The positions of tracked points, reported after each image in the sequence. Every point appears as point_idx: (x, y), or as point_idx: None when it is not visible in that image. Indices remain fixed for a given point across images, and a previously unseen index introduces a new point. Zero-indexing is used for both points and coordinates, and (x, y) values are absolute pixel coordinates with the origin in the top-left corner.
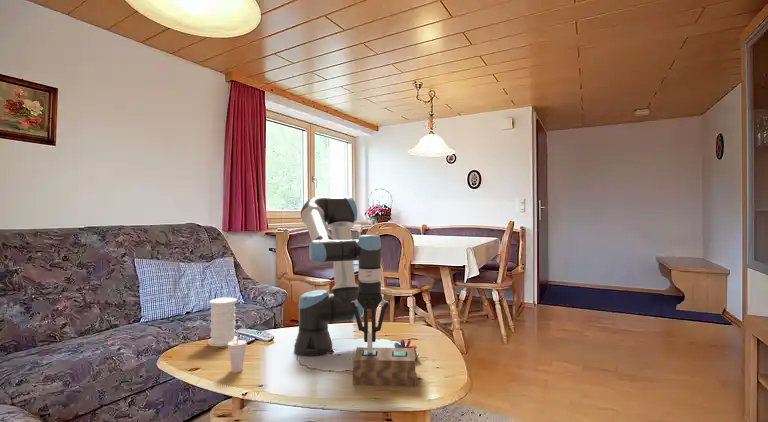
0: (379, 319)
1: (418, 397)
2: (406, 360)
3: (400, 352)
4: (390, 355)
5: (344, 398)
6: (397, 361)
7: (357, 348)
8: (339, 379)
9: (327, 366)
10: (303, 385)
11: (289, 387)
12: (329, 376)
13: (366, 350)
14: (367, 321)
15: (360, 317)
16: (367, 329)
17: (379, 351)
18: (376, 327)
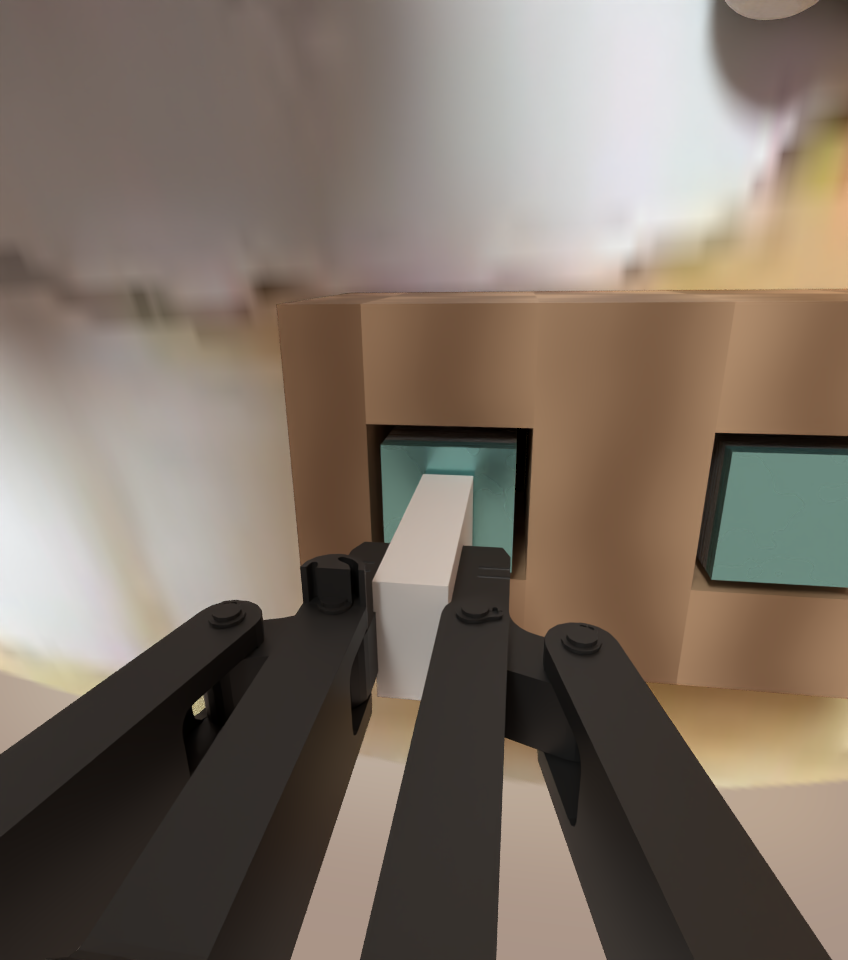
0: (608, 951)
1: (793, 723)
2: (833, 692)
3: (814, 492)
4: (677, 561)
5: None
6: (732, 681)
7: (289, 341)
8: (256, 466)
9: (92, 214)
10: (71, 549)
11: (10, 572)
12: (175, 416)
13: (404, 458)
14: (321, 864)
15: (101, 761)
16: (364, 731)
17: (555, 439)
18: (525, 735)
